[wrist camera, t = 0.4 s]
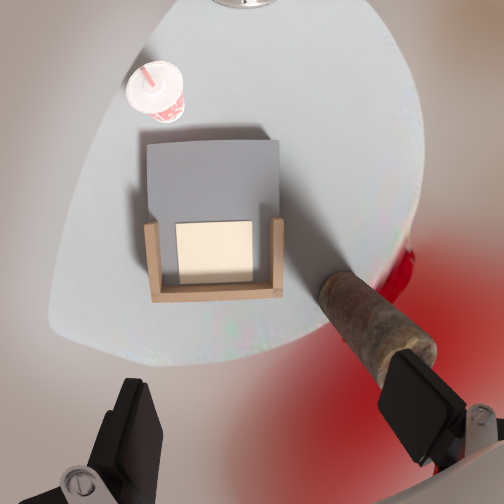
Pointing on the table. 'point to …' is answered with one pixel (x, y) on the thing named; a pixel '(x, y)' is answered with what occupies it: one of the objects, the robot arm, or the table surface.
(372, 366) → the brown rough cylinder
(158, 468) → the robot arm
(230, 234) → the dock
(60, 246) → the table surface
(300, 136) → the table surface
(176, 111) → the beverage cup
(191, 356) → the table surface
